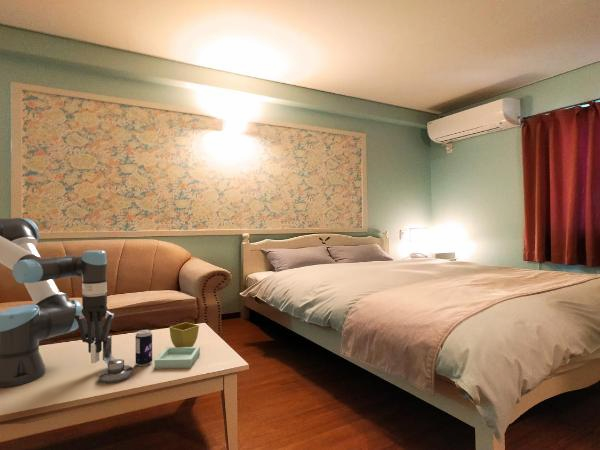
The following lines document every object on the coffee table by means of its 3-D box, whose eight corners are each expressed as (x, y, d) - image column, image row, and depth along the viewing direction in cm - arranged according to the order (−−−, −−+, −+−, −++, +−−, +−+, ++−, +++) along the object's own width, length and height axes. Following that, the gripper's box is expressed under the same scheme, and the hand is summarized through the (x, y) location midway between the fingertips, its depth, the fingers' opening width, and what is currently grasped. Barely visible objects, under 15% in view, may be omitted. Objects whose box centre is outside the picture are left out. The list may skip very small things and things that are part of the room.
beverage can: (145, 367, 127) (145, 334, 127) (132, 366, 128) (132, 333, 128) (155, 361, 132) (155, 329, 132) (142, 360, 133) (142, 328, 133)
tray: (154, 368, 126) (154, 360, 126) (166, 355, 139) (166, 347, 139) (191, 367, 126) (191, 359, 126) (199, 354, 139) (199, 346, 139)
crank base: (92, 383, 113) (92, 376, 113) (108, 371, 123) (108, 364, 123) (124, 383, 114) (124, 376, 114) (137, 370, 124) (137, 364, 124)
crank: (126, 370, 119) (126, 344, 119) (109, 375, 115) (109, 348, 115) (113, 358, 130) (113, 334, 130) (98, 362, 126) (98, 337, 126)
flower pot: (199, 346, 149) (199, 325, 149) (182, 352, 141) (182, 330, 141) (185, 342, 153) (185, 322, 153) (168, 348, 146) (168, 326, 146)
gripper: (69, 296, 119) (69, 366, 119) (108, 296, 120) (108, 365, 120) (81, 292, 127) (82, 357, 127) (118, 292, 127) (119, 357, 127)
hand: (95, 361), depth 123 cm, fingers closed
